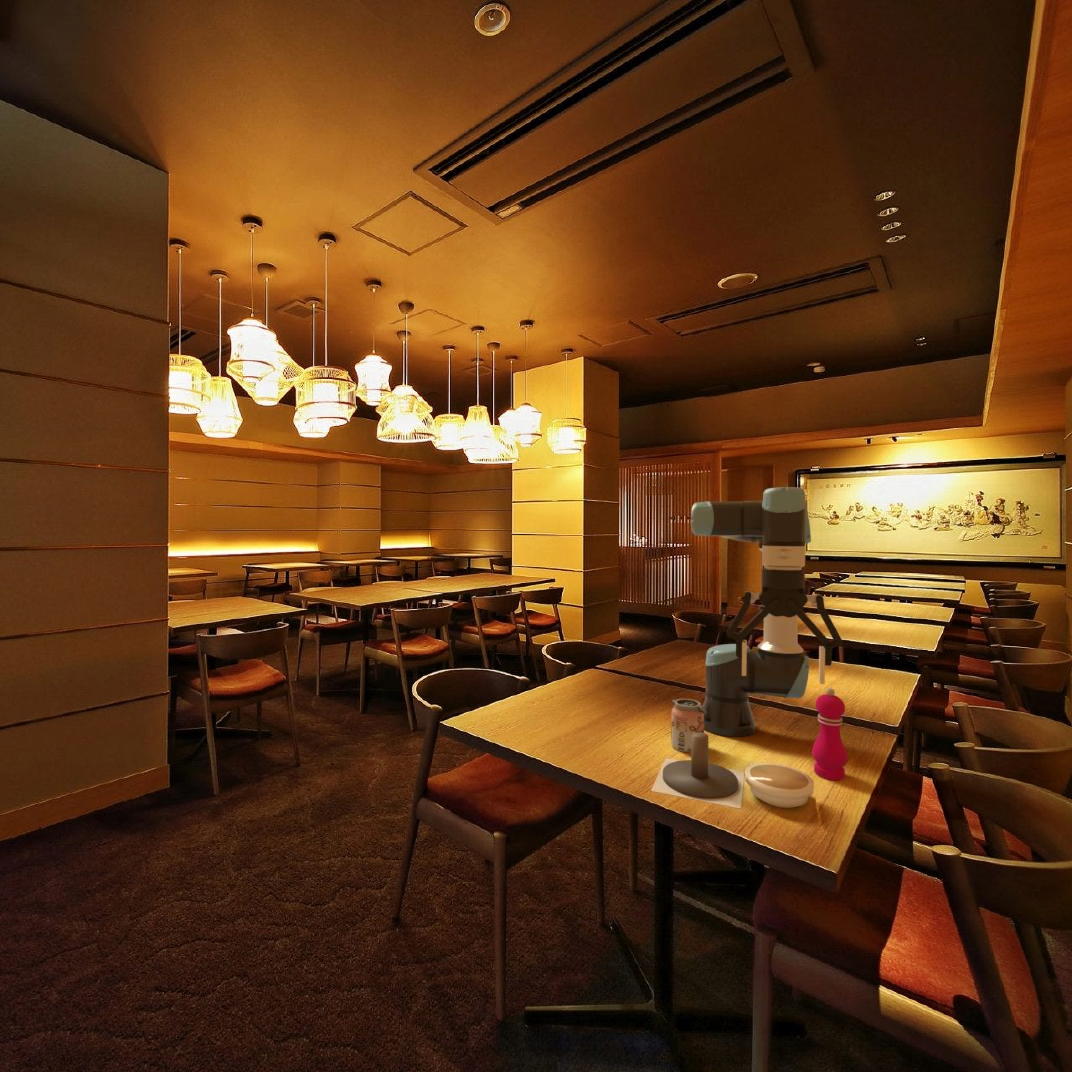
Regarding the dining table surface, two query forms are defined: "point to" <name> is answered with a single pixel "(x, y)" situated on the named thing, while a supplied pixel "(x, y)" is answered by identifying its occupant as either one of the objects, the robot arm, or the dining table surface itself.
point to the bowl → (779, 784)
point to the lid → (700, 773)
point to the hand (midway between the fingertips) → (781, 678)
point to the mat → (727, 801)
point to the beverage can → (686, 723)
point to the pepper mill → (829, 738)
